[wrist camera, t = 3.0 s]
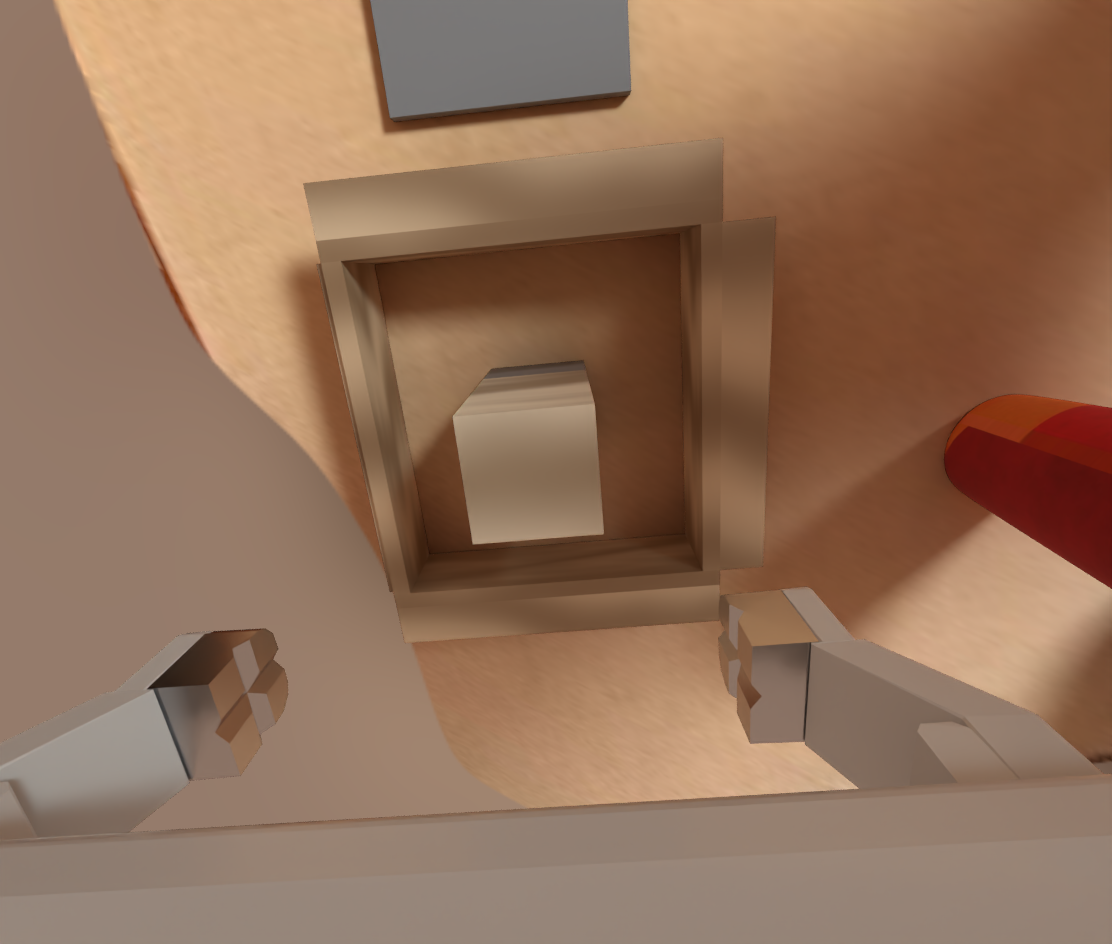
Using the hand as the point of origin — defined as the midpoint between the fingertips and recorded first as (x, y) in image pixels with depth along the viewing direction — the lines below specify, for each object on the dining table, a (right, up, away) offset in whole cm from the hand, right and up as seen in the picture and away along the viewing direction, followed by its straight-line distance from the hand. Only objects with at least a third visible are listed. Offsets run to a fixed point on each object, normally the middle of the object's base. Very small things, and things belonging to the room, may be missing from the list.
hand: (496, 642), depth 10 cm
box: (0, +6, +17) cm, 18 cm away
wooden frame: (0, +6, +17) cm, 18 cm away
